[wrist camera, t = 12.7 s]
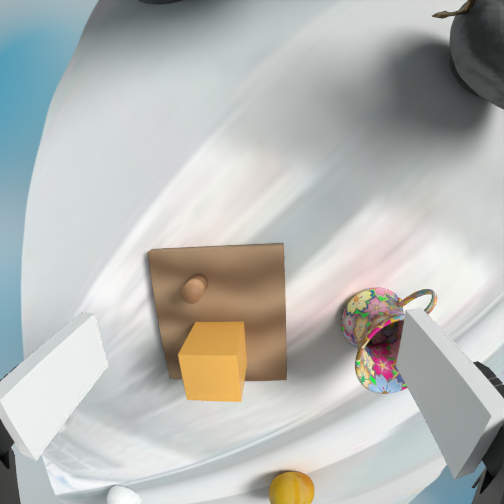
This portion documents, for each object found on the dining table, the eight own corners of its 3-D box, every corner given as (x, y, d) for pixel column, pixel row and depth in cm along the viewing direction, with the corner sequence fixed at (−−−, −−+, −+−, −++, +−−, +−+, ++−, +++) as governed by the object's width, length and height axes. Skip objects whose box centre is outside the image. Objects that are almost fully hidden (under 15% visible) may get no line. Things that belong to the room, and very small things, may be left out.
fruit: (315, 484, 46) (318, 516, 38) (274, 490, 47) (273, 521, 39) (309, 460, 44) (312, 494, 36) (264, 466, 45) (262, 501, 37)
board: (152, 249, 37) (124, 265, 30) (283, 242, 36) (286, 259, 28) (172, 372, 41) (155, 406, 33) (286, 373, 40) (288, 411, 32)
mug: (371, 358, 39) (395, 405, 29) (321, 325, 38) (336, 371, 28) (427, 290, 36) (468, 322, 26) (381, 250, 36) (418, 274, 25)
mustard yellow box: (195, 322, 38) (178, 354, 30) (243, 321, 37) (236, 355, 29) (201, 362, 39) (187, 399, 31) (247, 363, 38) (241, 401, 31)
